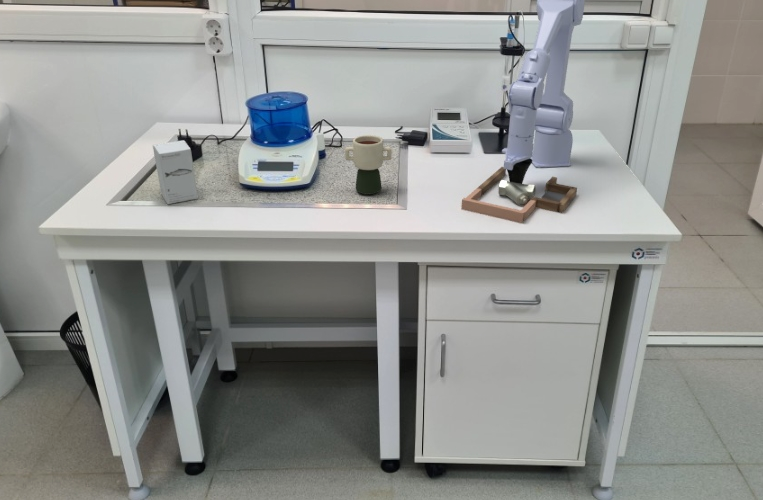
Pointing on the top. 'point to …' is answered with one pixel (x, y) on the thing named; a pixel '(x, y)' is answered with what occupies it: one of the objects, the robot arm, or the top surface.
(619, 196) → the top surface
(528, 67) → the robot arm
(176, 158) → the supplement box
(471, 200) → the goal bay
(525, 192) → the pipe fitting
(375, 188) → the character mug
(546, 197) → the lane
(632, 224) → the top surface
